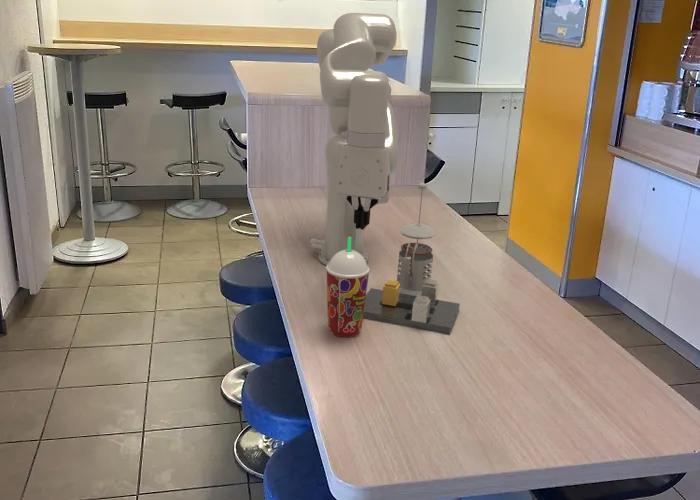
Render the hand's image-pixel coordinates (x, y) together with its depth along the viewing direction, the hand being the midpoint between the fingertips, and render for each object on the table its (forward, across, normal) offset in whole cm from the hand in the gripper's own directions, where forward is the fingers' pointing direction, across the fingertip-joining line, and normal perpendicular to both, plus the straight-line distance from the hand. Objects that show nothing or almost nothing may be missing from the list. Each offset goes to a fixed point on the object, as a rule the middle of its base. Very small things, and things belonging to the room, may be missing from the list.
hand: (361, 227), depth 141 cm
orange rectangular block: (+16, +7, +1) cm, 18 cm away
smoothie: (+18, +1, -12) cm, 22 cm away
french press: (+18, +9, +14) cm, 24 cm away
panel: (+18, +11, +1) cm, 21 cm away
